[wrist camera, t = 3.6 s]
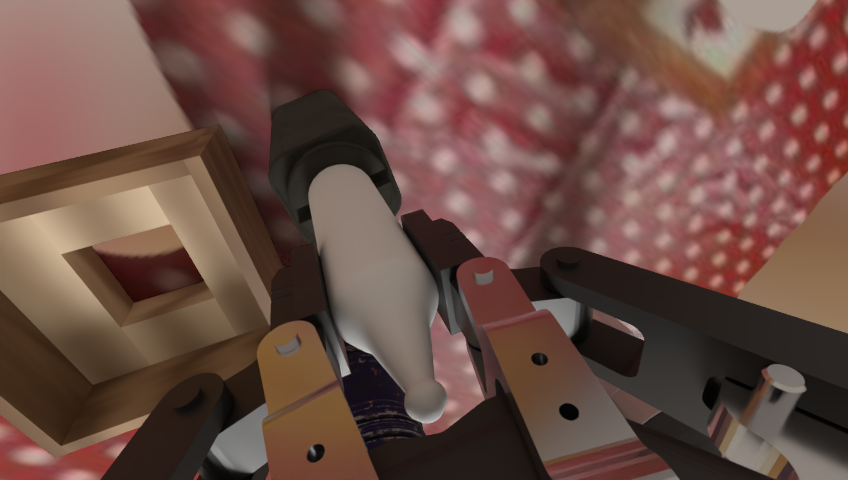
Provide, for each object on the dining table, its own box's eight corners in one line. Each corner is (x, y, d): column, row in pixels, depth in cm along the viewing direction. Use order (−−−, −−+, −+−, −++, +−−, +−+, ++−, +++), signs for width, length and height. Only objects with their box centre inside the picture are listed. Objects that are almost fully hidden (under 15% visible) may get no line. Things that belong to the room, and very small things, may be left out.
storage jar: (322, 311, 35) (347, 461, 23) (408, 332, 40) (467, 465, 28) (280, 388, 38) (282, 560, 25) (366, 399, 43) (403, 548, 30)
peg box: (220, 124, 25) (199, 155, 19) (298, 301, 34) (303, 366, 27) (-60, 188, 22) (-203, 253, 16) (103, 366, 31) (55, 458, 24)
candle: (265, 112, 26) (219, 414, 5) (332, 83, 27) (528, 254, 6) (301, 176, 29) (363, 536, 8) (361, 148, 29) (564, 420, 9)
